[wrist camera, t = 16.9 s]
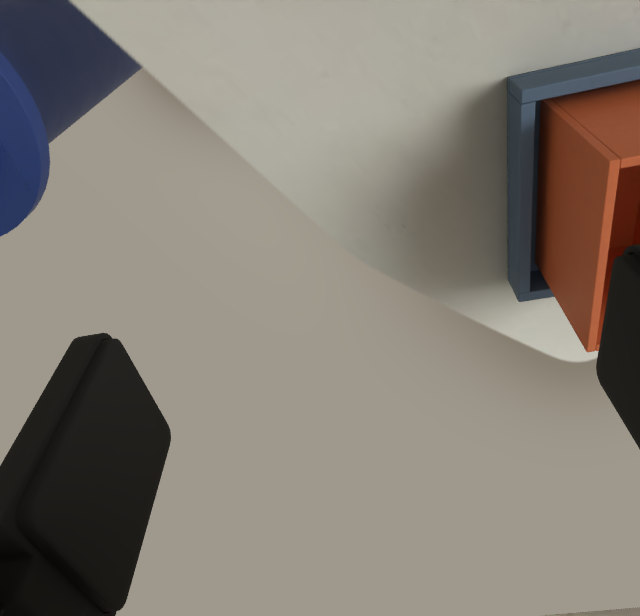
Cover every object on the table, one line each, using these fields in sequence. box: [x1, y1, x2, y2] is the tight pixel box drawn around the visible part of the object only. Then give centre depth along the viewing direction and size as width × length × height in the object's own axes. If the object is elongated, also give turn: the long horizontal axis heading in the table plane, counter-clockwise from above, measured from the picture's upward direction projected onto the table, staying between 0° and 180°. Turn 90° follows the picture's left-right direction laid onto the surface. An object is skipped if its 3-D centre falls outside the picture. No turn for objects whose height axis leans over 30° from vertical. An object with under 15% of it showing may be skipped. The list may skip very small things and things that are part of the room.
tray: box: [507, 48, 640, 302], centre depth 34 cm, size 15×11×3 cm
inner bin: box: [535, 79, 640, 352], centre depth 31 cm, size 12×7×10 cm, turn 12°
